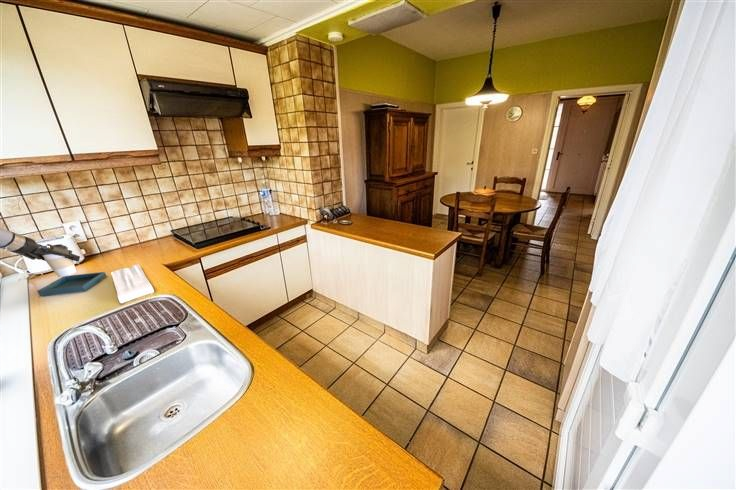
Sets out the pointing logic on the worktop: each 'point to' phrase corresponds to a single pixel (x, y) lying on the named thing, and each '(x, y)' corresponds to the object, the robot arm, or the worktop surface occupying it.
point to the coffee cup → (60, 263)
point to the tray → (72, 284)
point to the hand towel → (131, 283)
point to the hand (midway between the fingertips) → (67, 260)
